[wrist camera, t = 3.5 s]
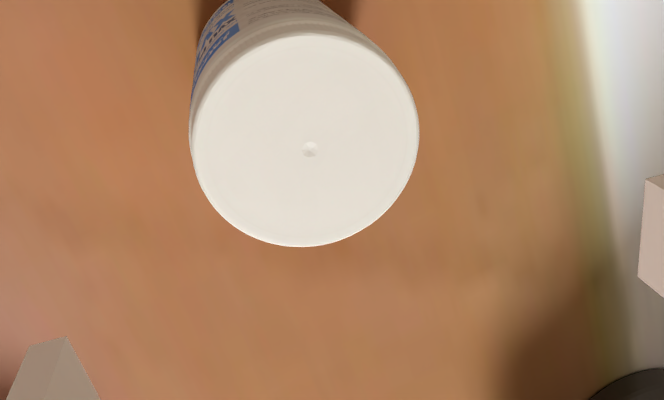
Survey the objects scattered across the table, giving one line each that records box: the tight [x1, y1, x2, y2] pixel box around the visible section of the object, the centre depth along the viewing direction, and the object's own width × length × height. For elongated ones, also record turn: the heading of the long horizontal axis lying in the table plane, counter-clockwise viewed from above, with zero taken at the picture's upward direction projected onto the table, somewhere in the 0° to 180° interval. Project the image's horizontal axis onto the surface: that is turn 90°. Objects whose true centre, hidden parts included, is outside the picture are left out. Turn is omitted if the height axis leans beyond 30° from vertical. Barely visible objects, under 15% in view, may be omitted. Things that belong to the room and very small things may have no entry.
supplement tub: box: [189, 0, 419, 247], centre depth 29 cm, size 10×10×15 cm
